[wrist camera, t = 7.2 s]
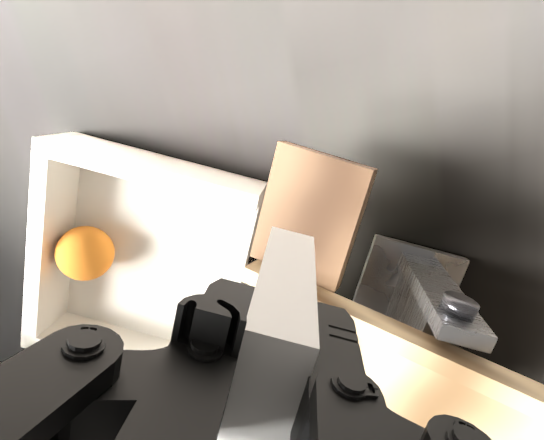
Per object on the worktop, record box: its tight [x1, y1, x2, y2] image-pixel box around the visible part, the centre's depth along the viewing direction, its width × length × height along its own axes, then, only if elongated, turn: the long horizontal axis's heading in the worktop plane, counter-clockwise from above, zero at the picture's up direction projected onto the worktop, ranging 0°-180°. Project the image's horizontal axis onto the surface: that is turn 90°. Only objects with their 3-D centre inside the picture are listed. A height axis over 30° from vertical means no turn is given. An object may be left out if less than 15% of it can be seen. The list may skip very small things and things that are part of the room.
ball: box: [55, 226, 115, 281], centre depth 26 cm, size 4×4×4 cm
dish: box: [20, 131, 268, 350], centre depth 26 cm, size 13×14×4 cm
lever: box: [241, 141, 544, 440], centre depth 18 cm, size 20×14×2 cm
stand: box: [352, 234, 498, 354], centre depth 23 cm, size 6×11×9 cm, turn 166°
